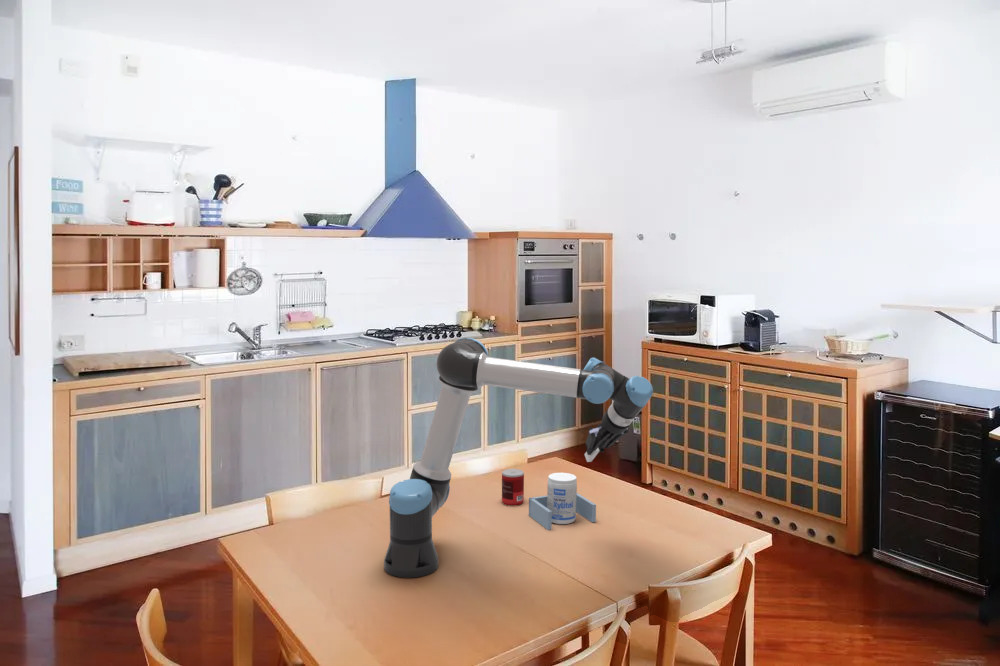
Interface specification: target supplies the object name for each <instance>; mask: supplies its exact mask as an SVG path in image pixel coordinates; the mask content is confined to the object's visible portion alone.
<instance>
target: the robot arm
mask: <svg viewBox="0 0 1000 666" xmlns="http://www.w3.org/2000/svg"><path fill="white" fill-rule="evenodd" d="M436 369H437V373H438V375H439V377H438V381H439V383H440V384H441V389H440V392H439V395H438V400H437V402H436V406H435V409H434V412H433V416H432V419H431V423H430V426H429V430H428V433H427V437H426V440H425V443H424V447H423V451H422V454H421V457H420V460H419V461H417V462H415V463H414V464H413V467H412V469H411V473H410V477H409V479H404V480H403V481H398V482H397V483H395V484H394V485H393V486H392V487H391V488H390V491H389V497H388V499H389V500H388V505H389V536H390V537H389V544H388V546H387V550H386V553H385V556H384V559H383V568H384V571H385V572H386V573H387V574H388V575H391V576H394V577H398V578H404V579H405V578H407V579H408V578H409V579H411V578H412V579H413V578H419V577H424V576H427V575H430V574H433V573H434V572H435V571H437V570H438V568H439V555H438V552H437V550H436V546H435V543H434V540H433V517H434V516H435V515H436V513H437V512H438V511H439V510H440V508H441V507H443V506H444V505H445V503H446V502H447V500H448V497H449V494H450V490H451V489H450V487H451V486H450V482H451V479H452V472H451V471H450V464H451V462H452V461H451V460H452V458H453V455H454V451H455V449H456V445H457V441H458V438H459V435H460V431H461V427H462V424H463V421H464V417H465V414H466V411H467V408H468V404H469V401H470V398H471V395H472V394H474V393H475V392H477V391H478V390H479V389H480V388H482V387H484V386H489V387H499V388H503V389H504V388H505V389H512V390H519V391H525V392H534V393H541V394H548V395H554V396H555V395H556V396H562V397H569V398H576V399H581V400H587V401H588V402H590V403H592V404H597V405H600V404H603V403H605V402H607V401H608V400H611V401H612V403H611V404H610V406H609V407H608V408H607V410H606V411H605V413H603V415H602V418H601V422H600V423H599V424H598V425H597V426H596V427H595V428H593V427H588V434H587V437H586V441H585V446H586V452H584V457H585V460H586V462H587V463H589V462H590V463H591V462H593V460H594V459H595V458H596V457H597V455H598V454H599V453H600V452H601V453H604V452H605V448H606V449H609V448H610V447H612V446H613V445H614V444H616V442H617V441H619V440H620V439H621V438H622V437H623V436H625V435H627V434H628V433H629V431H630V430H629V429H628V428H629V427H630V425H631V424H632V422H633V421H634V420H635V418H636V417H637V416H638V415H639V414H640V412H641V411H642V410H643V409H644V407H646V406H647V404H648V402H649V401H650V399H651V398H652V396H653V395H654V394H653V393H654V388H653V385H652V383H651V382H650V381H649V380H648V379H647V378H646V377H644V376H639V375H634V376H632V377H627V376H625V375H624V374H622V373H621V372H619V371H617V370H616V369H614V368H612V367H611V366H609V365H608V364H607V363H605V362H604V361H601V360H599V359H598V358H596V357H590V359H589V360H588V361H587V363H586V365H585V366H584V368H583V369H580V368H573V367H566V366H560V365H559V366H558V365H551V364H546V363H545V364H543V363H535V362H530V361H529V362H527V361H522V360H521V361H520V360H516V359H515V360H513V359H507V358H499V357H493V356H489V352H488V350H487V347H486V346H485V345H484V343H482V342H481V341H480V340H478V339H475V338H472V337H462V338H459V339H457V340H455V341H454V342H452V343H450V344H448V345H446V346H445V347H443V348H442V349H441V351H440V352H439V354H438V356H437V359H436Z"/></svg>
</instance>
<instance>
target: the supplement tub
mask: <svg viewBox="0 0 1000 666" xmlns="http://www.w3.org/2000/svg"><path fill="white" fill-rule="evenodd" d="M547 478H548V479H547V494H546V495H547V508H548V509H549V510H550V511H552V523H554V524H557V525H568V524H571V523H574V522H575V521H576V517H577V512H576V494H577V493H578V492H577V491H578V490H577V489H578V487H577V486H578V485H577V484H578V483H577V482H578V481H577V476H576V475H575V474H572V473H569V472H553V473H550V474H549V475H548V476H547Z"/></svg>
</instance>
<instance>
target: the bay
mask: <svg viewBox="0 0 1000 666" xmlns="http://www.w3.org/2000/svg"><path fill="white" fill-rule="evenodd" d="M578 513H579V516H582V518H584V517H585V520H587V519H588V521H589V522H590V521H591V523H592V524H593V522H595V523H596V522H597V521H596V520H597V504H596V503H594V502H593V501H591V500H589V499H588V498H586V497H585V496H583V495H581V494H579V493H578V492H577V494H576V514H578ZM528 516H529V517H530V518H532V519H533V520H534V521H535V522H537V523H538V524H539V525H540V526H542V527H543V528H544V529H546V530H548V531H551V530H552V523H553V522H552V511H550V510H549V509H548V508H547V494H546V495H540V496H533V497H529V498H528Z"/></svg>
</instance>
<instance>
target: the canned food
mask: <svg viewBox="0 0 1000 666" xmlns="http://www.w3.org/2000/svg"><path fill="white" fill-rule="evenodd" d="M524 487H525V472H524V471H523V470H522V469H517V468H508V469H507V468H506V469H505V470H503V471H501V502H502V504H503V503H504V504H503V505H505V504H506V506H508V505H518V506H521V505H522V504H524V501H525V500H524V498H525V496H524V495H525V488H524ZM520 504H521V505H520Z"/></svg>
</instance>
